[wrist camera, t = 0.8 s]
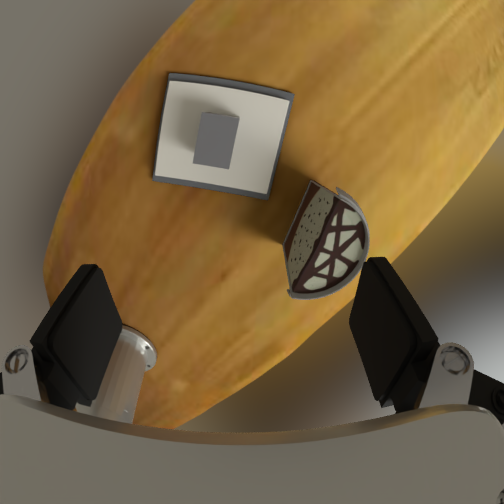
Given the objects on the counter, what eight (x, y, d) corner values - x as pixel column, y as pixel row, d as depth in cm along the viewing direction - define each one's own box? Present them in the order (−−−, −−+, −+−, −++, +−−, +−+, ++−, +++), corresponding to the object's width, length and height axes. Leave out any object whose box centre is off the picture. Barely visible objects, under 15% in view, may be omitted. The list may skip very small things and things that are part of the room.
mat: (267, 198, 33) (268, 200, 33) (153, 179, 32) (152, 180, 31) (293, 94, 27) (294, 94, 27) (170, 73, 25) (169, 72, 25)
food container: (318, 266, 39) (338, 313, 30) (278, 254, 37) (289, 302, 29) (357, 186, 33) (395, 216, 24) (315, 168, 32) (343, 193, 23)
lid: (265, 191, 32) (270, 207, 28) (157, 173, 31) (142, 186, 26) (288, 101, 27) (298, 99, 22) (171, 81, 25) (158, 76, 21)
